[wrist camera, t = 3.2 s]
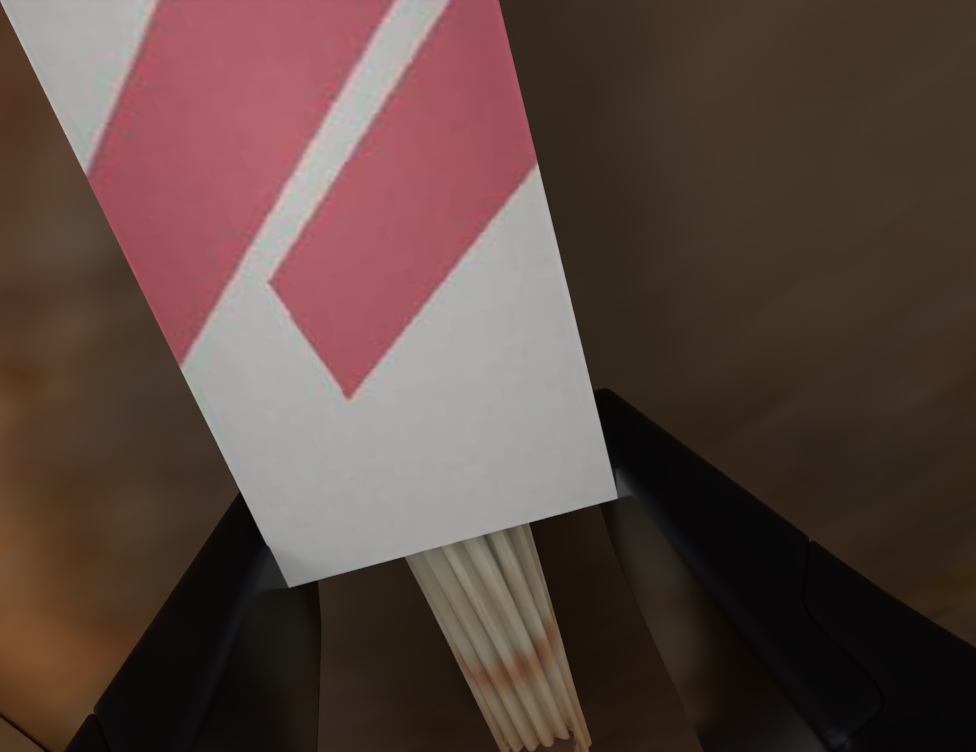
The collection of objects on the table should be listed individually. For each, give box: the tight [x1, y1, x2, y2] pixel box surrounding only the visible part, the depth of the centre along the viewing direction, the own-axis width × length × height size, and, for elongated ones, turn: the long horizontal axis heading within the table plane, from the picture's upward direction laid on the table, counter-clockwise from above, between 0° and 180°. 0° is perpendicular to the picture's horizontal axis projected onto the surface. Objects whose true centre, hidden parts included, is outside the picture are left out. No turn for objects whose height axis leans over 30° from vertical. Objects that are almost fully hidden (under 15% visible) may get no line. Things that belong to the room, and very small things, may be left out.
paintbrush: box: [0, 0, 618, 752], centre depth 9 cm, size 4×3×20 cm
